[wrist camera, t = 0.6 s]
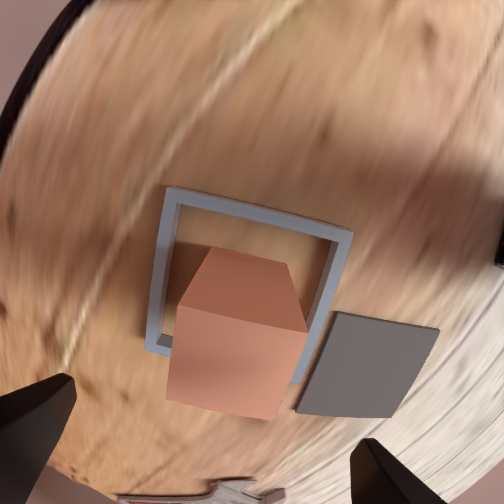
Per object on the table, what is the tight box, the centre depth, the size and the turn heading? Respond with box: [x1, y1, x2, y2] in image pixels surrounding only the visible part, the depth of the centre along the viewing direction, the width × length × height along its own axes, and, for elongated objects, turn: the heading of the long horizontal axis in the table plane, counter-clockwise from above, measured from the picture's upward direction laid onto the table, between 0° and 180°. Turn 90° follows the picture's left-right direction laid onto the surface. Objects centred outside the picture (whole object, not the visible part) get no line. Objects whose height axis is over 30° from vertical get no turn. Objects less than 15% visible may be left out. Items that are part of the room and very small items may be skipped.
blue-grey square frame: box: [145, 186, 354, 384], centre depth 19 cm, size 12×12×2 cm
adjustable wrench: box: [117, 479, 287, 504], centre depth 27 cm, size 8×26×2 cm, turn 108°
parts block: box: [166, 247, 309, 421], centre depth 16 cm, size 5×5×9 cm
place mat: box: [295, 311, 440, 418], centre depth 22 cm, size 10×10×1 cm
